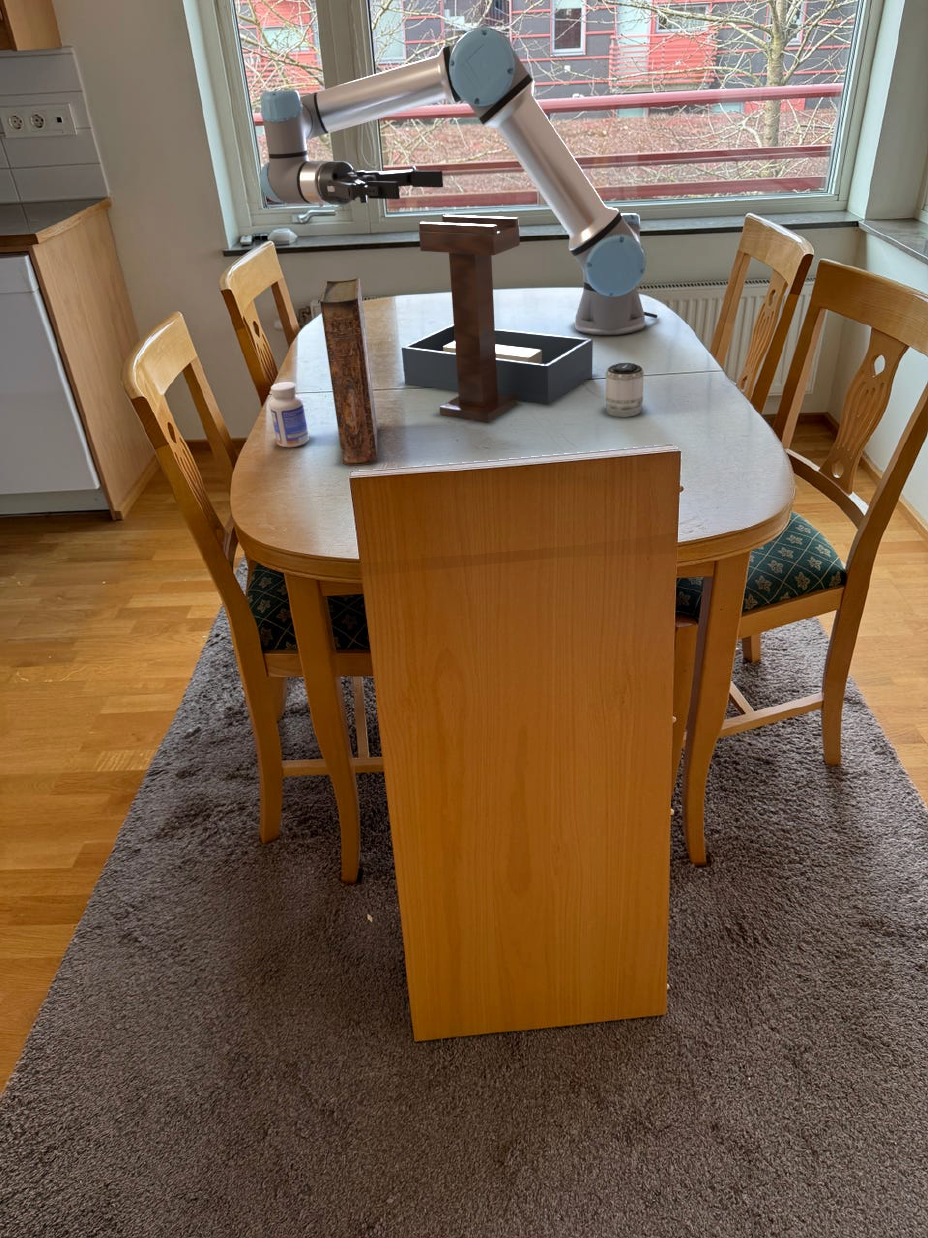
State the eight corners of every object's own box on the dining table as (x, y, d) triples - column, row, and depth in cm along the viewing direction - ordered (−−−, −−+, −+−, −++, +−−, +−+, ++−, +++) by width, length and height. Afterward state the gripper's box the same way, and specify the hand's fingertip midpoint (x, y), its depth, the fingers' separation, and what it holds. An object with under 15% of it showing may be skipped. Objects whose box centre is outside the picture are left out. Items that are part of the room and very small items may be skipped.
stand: (527, 405, 162) (522, 216, 145) (498, 424, 155) (489, 227, 138) (461, 395, 169) (449, 213, 152) (430, 413, 162) (414, 224, 145)
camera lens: (646, 406, 158) (648, 361, 153) (636, 419, 153) (638, 373, 149) (611, 403, 160) (612, 359, 156) (600, 415, 155) (601, 370, 151)
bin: (592, 376, 174) (592, 339, 170) (548, 405, 161) (547, 366, 158) (454, 358, 189) (452, 324, 185) (404, 383, 177) (401, 347, 173)
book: (377, 463, 144) (357, 300, 130) (342, 466, 144) (319, 303, 130) (377, 426, 158) (359, 275, 144) (345, 429, 157) (324, 278, 144)
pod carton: (542, 371, 172) (541, 349, 170) (529, 378, 168) (528, 357, 166) (457, 360, 181) (456, 339, 179) (444, 367, 178) (442, 346, 176)
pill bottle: (314, 437, 155) (305, 381, 150) (299, 449, 151) (290, 391, 146) (286, 435, 157) (276, 379, 152) (271, 447, 153) (260, 390, 148)
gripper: (372, 194, 185) (459, 196, 175) (289, 215, 168) (380, 219, 158) (367, 152, 181) (457, 152, 171) (282, 170, 164) (375, 171, 154)
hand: (420, 184), depth 164 cm, fingers open, 13 cm apart
